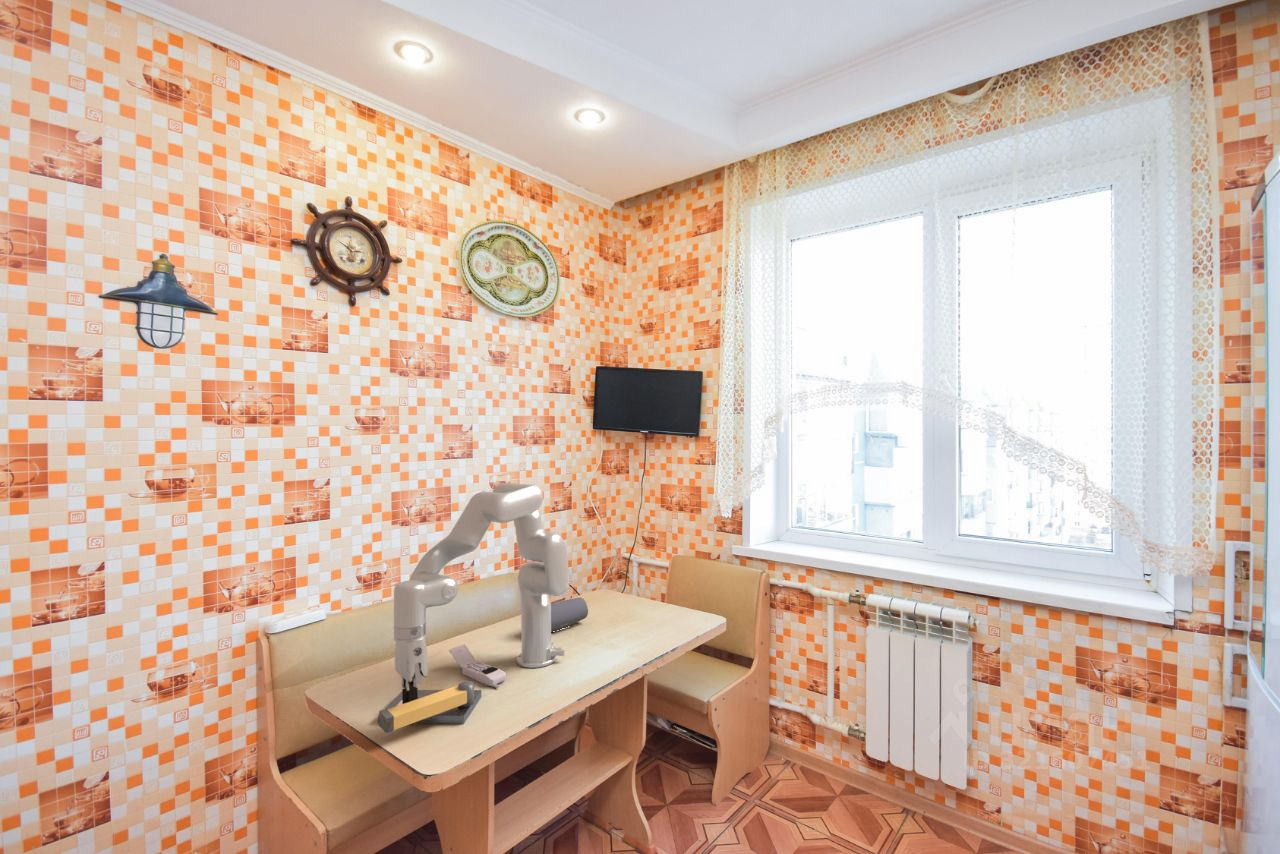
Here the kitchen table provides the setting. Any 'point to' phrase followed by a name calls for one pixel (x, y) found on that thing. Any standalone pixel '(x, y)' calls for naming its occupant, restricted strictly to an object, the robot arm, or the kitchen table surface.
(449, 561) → the robot arm
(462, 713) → the plate
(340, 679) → the kitchen table surface
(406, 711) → the bar
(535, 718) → the kitchen table surface
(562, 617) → the bluetooth speaker
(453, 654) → the mobile phone
